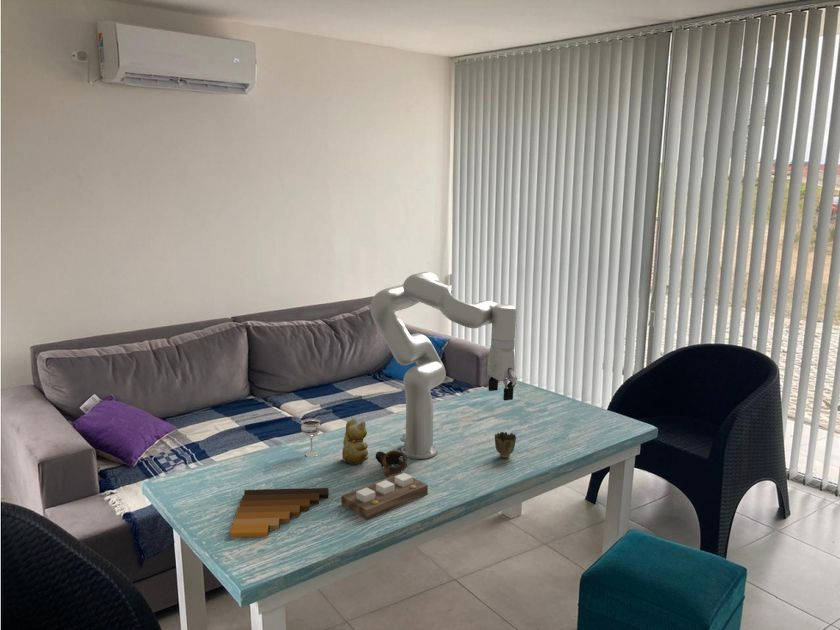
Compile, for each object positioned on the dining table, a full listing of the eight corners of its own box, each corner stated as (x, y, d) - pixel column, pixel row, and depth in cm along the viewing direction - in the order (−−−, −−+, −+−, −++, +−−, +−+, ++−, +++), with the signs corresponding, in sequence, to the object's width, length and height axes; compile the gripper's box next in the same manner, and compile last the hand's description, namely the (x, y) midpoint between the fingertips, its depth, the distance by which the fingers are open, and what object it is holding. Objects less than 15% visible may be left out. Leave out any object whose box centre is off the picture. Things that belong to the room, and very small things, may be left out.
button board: (341, 505, 209) (341, 495, 208) (401, 481, 225) (401, 471, 224) (366, 519, 200) (366, 509, 199) (427, 493, 216) (427, 484, 216)
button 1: (356, 499, 207) (356, 491, 206) (366, 495, 210) (366, 487, 209) (364, 504, 204) (364, 496, 204) (375, 499, 207) (375, 491, 206)
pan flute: (328, 495, 216) (246, 497, 214) (328, 485, 215) (245, 487, 213) (323, 537, 192) (230, 540, 190) (323, 526, 191) (230, 528, 189)
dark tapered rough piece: (490, 458, 242) (491, 437, 241) (498, 451, 249) (499, 430, 247) (510, 463, 239) (511, 441, 237) (518, 455, 245) (519, 434, 244)
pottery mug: (412, 468, 236) (413, 453, 230) (399, 489, 229) (399, 475, 224) (381, 454, 239) (381, 439, 234) (367, 475, 233) (366, 460, 227)
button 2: (394, 484, 217) (394, 476, 217) (404, 480, 220) (404, 472, 219) (403, 488, 214) (403, 480, 214) (412, 484, 217) (412, 476, 216)
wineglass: (320, 458, 242) (319, 425, 239) (300, 458, 242) (299, 425, 239) (322, 450, 248) (321, 418, 246) (303, 450, 248) (302, 418, 246)
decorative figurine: (372, 461, 240) (372, 419, 237) (357, 469, 233) (357, 426, 230) (350, 454, 245) (350, 413, 242) (335, 462, 238) (334, 420, 235)
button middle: (375, 491, 212) (375, 483, 212) (385, 487, 215) (385, 479, 214) (384, 496, 209) (384, 488, 209) (394, 491, 212) (394, 484, 211)
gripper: (479, 338, 229) (477, 388, 232) (506, 351, 213) (503, 405, 217) (499, 336, 232) (497, 385, 235) (527, 349, 216) (524, 402, 220)
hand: (500, 395), depth 226 cm, fingers open, 9 cm apart
